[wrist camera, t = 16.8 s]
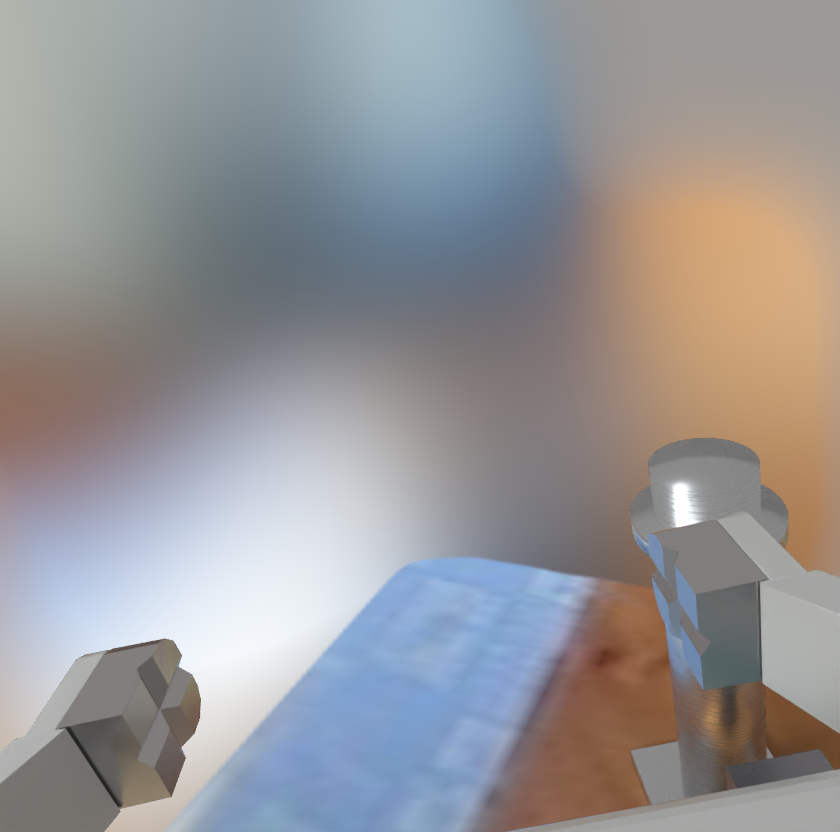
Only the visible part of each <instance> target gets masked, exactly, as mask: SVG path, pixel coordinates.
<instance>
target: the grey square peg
mask: <svg viewBox="0 0 840 832" xmlns="http://www.w3.org/2000/svg"><path fill="white" fill-rule="evenodd" d="M833 770H834V769H833V767H832V766H831V764H830V763H829V762H828V760H827V759H826V757H825V756H824V755H823V753H822V752H821V750H820V749H817V750H812V751H806V752H801V753H796V754H790V755H785V756H780V757H775V758H769V759H764V760H759V761H753V762H748V763H743V764H738V765H732V766H727V767H726V773H727V789H728V790H732V789H737V788H743V787H748V786H753V785H759V784H764V783H769V782H774V781H780V780H785V779H790V778H796V777H801V776H806V775H812V774H817V773H822V772H828V771H833Z"/></svg>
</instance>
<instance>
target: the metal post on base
mask: <svg viewBox="0 0 840 832" xmlns="http://www.w3.org/2000/svg"><path fill="white" fill-rule="evenodd" d="M648 466H649V476H650V484H651V485H650V486H648V487H647V488H645V489H644V490H643V491H641V492H640V493H639V494H638V495H637V497H636V498H635V499H634V501H633V503H632V506H631V521H632V529H633V535H634V538H635V540H636V542H637V544H638V545H639V547H640V548H641V549H642V550H643V551H644V552H645V553H646V554H648V555H649V546H648V538H649V533H654V532H658V531H663V530H667V529H672V528H676V527H681V526H685V525H690V524H694V523H698V522H703V521H707V520H711V518H716V517H720V516H724V515H728V514H732V513H736V512H740V511H744V512H747V513H749V514H750V515H751V516H752V517H753V518H754V519H755V520H756V521H757V522H758V523H759V524H760V525H761V526H762V527H763V528H764V529H765V530H766V531H767V532H768V533H769V534H770V535H771V536H772V537H773V538H774V539H775V540H776V541H777V542H778V543H779V544H780V545H781V546H782V547H783V548H785V546H786V543H787V540H788V512H787V508H786V506H785V504H784V502H783V501H782V499H781V498H780V497H779V496H778V495H777V494H776V493H774V492H773V491H771V490H770V489H769V488H767V487H765V486H763V485H761V484H760V461H759V458H758V456H757V455H756V454H755V452H754V451H752V450H751V449H749V448H748V447H746V446H744V445H742V444H739V443H736V442H733V441H729V440H723V439H715V438H695V439H687V440H682V441H678V442H674V443H671V444H668V445H666V446H664V447H662V448H660V449H659V450H657V451H656V452H655V453H654V454H653V455H652V456H651V457H650V459H649V463H648ZM649 556H650V555H649ZM650 557H651V556H650ZM665 627H666V636H667V645H668V655H669V664H670V674H671V683H672V693H673V702H674V711H675V721H676V730H677V740H678V741H677V742H672V743H667V744H662V745H656V746H651V747H646V748H641V749H636V750H631V757H632V762H633V765H634V767H635V770H636V772H637V775H638V777H639V780H640V783H641V785H642V788H643V790H644V793H645V796H646V798H647V801H648V803H649V805H652V804H658V803H663V802H668V801H674V800H679V799H684V798H690V797H695V796H700V795H706V794H711V793H716V792H721V791H727V790H728V789H727V773H726V767H727V766H732V765H738V764H743V763H748V762H753V761H759V760H764V759H769V758H774V757H773V756H772V754H771V753H770V751H769V749H768V748H767V739H766V697H765V685H764V684H763V683H762V681H757V682H751V683H745V684H739V685H733V686H727V687H721V688H716V689H710V690H703V689H702V687H701V685H700V684H699V682H698V680H697V678H696V677H695V675H694V673H693V672H692V670H691V668H690V666H689V665H688V663H687V661H686V660H685V658H684V656H683V646H682V640H680V639H678V638H676V637H674V636H673V635H671V633H670V632H669V630H668V628H667V626H666V624H665Z"/></svg>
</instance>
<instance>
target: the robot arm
mask: <svg viewBox="0 0 840 832" xmlns="http://www.w3.org/2000/svg"><path fill="white" fill-rule="evenodd" d="M648 546H649V555H650V556H651V558H652V560H653V561H654V563H655V564H656V566H657V569H656V571H655V573H654V574H653V576H652V581H653V588H654V594H655V597H656V601H657V604H658V608H659V611H660V613H661V616H662V618H663V620H664V623H665V624H666V626H667V628H668V630H669V632H670V633H671V635H673V636H674V637H676V638H678V639H680V640H682V646H683V656H684V658H685V660H686V661H687V663H688V665H689V666H690V668H691V670H692V672H693V673H694V675H695V677H696V678H697V680H698V682H699V684H700V685H701V687H702V689H703V690H710V689H716V688H721V687H727V686H733V685H739V684H745V683H751V682H757V681H762V683H763V684H764V685H766V686H767V687H769V688H770V689H772V690H773V691H775V692H777V693H778V694H780V695H781V696H783V697H784V698H786V699H787V700H789V701H790V702H792V703H793V704H795V705H797V706H798V707H800V708H801V709H803V710H804V711H806V712H807V713H809V714H810V715H812V716H813V717H815V718H816V719H818V720H820V721H821V722H823V723H824V724H826V725H827V726H829V727H830V728H832V729H833V730H835V731H836V732H838V733H840V578H839V577H836V576H834V575H831V574H828V573H825V572H822V571H820V570H815V571H810V572H808V571H807V570H806V569H804V567H803V566H802V565H801V564H800V563H798V562H797V561H796V560H795V559H794V558H793V557H792V556H791V555H790V554H789V553H788V552H787V551H786V550H785V549H784V548H783V547H782V546H781V545H780V544H779V543H778V542H777V541H776V540H775V539H774V538H773V537H772V536H771V535H770V534H769V533H768V532H767V531H766V530H765V529H764V528H763V527H762V526H761V525H760V524H759V523H758V522H757V521H756V520H755V519H754V518H753V517H752V516H751V515H750V514H749V513H747V512H744V511H740V512H736V513H732V514H728V515H724V516H720V517H716V518H711V520H707V521H703V522H698V523H694V524H690V525H685V526H681V527H676V528H672V529H667V530H663V531H658V532H654V533H649V538H648ZM181 657H182V655H181V653H180V651H179V649H178V648H177V646H176V644H175V643H174V641H172V640H168V639H161V640H155V641H150V642H145V643H140V644H135V645H130V646H125V647H119V648H114V649H111V650H105V651H101V652H96V653H91V654H86V655H84V656H82V657H80V658H79V659H77V660H75V662H74V663H73V665H72V666H71V668H70V669H69V671H68V673H67V674H66V675H65V677H64V679H63V680H62V681H61V683H60V684H59V686H58V687H57V689H56V691H55V692H54V694H53V695H52V697H51V698H50V700H49V701H48V703H47V704H46V706H45V707H44V709H43V710H42V712H41V713H40V715H39V716H38V718H37V719H36V721H35V722H34V724H33V726H32V727H31V728H30V730H29V731H28V733H27V734H26V736H25V737H21V738H16V739H15V740H14V741H12V742H11V743H10V744H9V745H7V746H6V747H5V748H4V749H3V750H1V751H0V832H104V831H105V830H106V829H107V828H108V827H109V825H110V824H111V823H112V822H113V820H114V819H115V818H116V817H117V815H118V814H119V813H120V809H121V808H126V807H130V806H134V805H139V804H143V803H147V802H151V801H156V800H160V799H164V798H169V797H172V794H173V791H174V788H175V786H176V783H177V780H178V778H179V775H180V772H181V769H182V767H183V764H184V761H185V758H186V757H185V755H184V753H183V750H182V748H181V747H182V746H183V745H184V744H185V743H186V742H187V741H188V740H189V739H190V738H191V737H192V735H193V734H194V733H195V730H196V728H197V725H198V722H199V719H200V703H201V698H200V694H199V690H198V685H197V683H196V682H195V679H194V677H193V676H192V674H190V673H188V672H187V671H185V670H183V669H181V668H180V667H179V663H180V660H181ZM509 832H840V769H838V770H833V771H828V772H822V773H817V774H812V775H806V776H801V777H796V778H790V779H785V780H780V781H774V782H769V783H764V784H759V785H753V786H748V787H743V788H737V789H732V790H727V791H721V792H716V793H711V794H706V795H700V796H695V797H690V798H684V799H679V800H674V801H668V802H663V803H658V804H652V805H647V806H642V807H636V808H631V809H626V810H621V811H615V812H610V813H605V814H599V815H594V816H589V817H583V818H578V819H573V820H567V821H562V822H557V823H551V824H546V825H541V826H536V827H530V828H525V829H520V830H514V831H509Z"/></svg>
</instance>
